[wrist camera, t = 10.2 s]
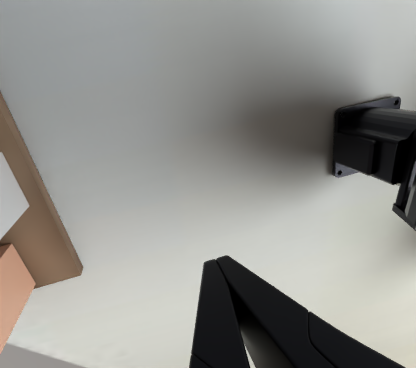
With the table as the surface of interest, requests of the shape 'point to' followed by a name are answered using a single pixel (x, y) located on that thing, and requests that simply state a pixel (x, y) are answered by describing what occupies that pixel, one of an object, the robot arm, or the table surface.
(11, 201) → the light grey tall block
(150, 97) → the table surface
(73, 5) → the table surface
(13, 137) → the keypad base
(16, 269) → the salmon brown block
